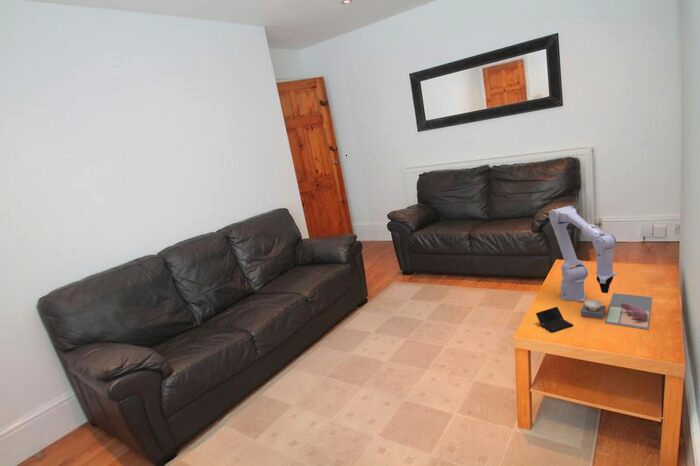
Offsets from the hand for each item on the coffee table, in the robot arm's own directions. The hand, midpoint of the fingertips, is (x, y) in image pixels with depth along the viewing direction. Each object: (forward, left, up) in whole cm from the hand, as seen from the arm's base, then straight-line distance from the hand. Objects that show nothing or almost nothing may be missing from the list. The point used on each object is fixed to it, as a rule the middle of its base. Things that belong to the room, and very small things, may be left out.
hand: (604, 292), depth 164 cm
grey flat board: (+8, +5, -9) cm, 13 cm away
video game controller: (+8, -3, -8) cm, 11 cm away
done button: (-4, -3, -8) cm, 9 cm away
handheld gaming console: (-16, -18, -10) cm, 26 cm away
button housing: (-4, -3, -9) cm, 11 cm away
